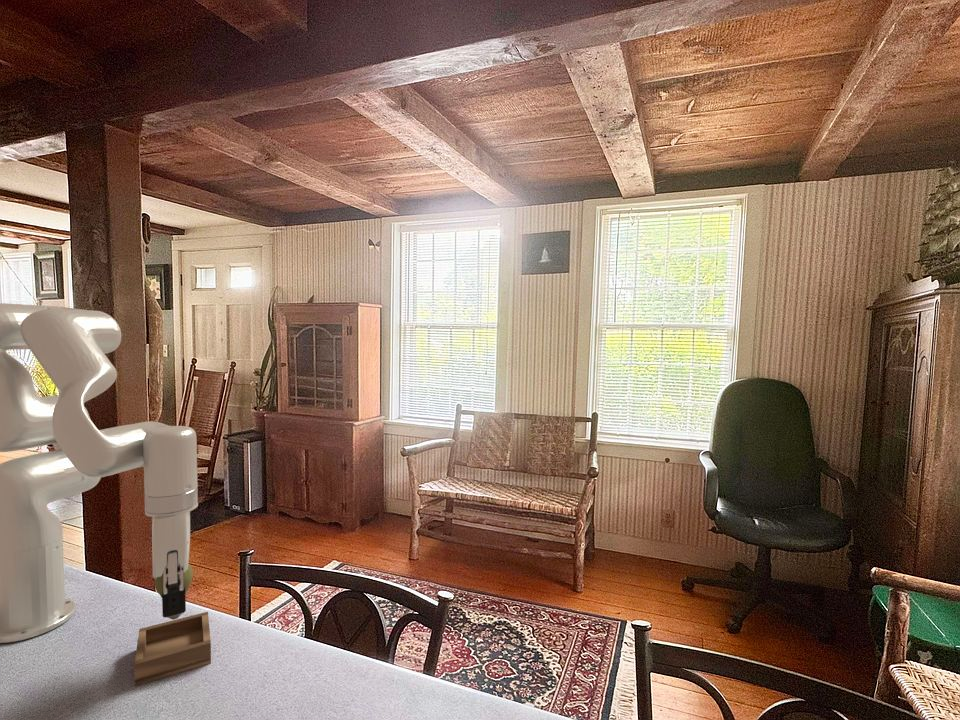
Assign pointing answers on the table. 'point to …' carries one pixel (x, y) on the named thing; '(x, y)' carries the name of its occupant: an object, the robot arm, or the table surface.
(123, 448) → the robot arm
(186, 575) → the light bulb
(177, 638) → the open wooden box
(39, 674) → the table surface
